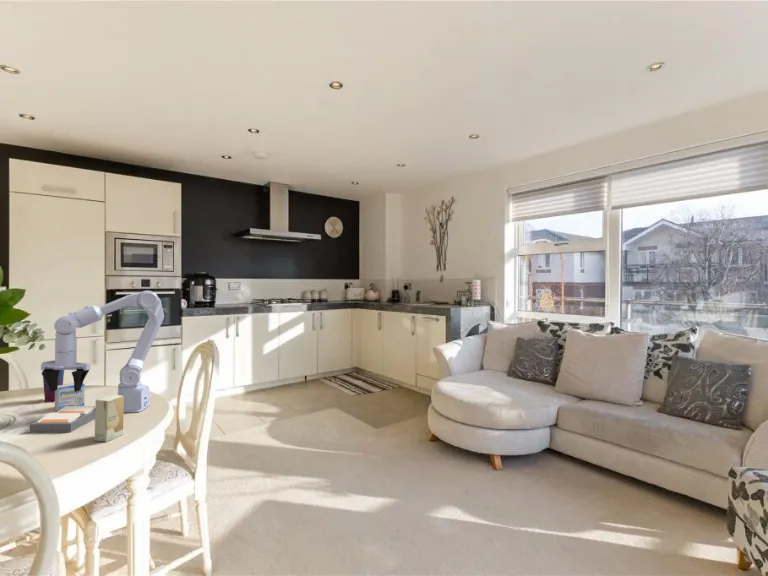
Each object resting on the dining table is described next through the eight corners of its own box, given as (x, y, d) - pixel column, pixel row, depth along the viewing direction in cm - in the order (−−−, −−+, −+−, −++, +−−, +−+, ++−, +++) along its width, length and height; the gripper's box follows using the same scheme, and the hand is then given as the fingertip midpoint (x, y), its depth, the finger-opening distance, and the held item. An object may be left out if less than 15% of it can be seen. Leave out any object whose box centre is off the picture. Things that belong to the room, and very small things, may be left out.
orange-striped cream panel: (95, 408, 135) (95, 405, 135) (85, 416, 130) (85, 413, 130) (65, 408, 134) (65, 405, 134) (55, 416, 129) (54, 413, 129)
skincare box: (106, 442, 115) (106, 401, 115) (93, 441, 116) (94, 400, 115) (124, 434, 121) (124, 395, 121) (112, 432, 122) (112, 394, 122)
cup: (58, 402, 149) (58, 363, 149) (37, 403, 147) (37, 364, 147) (68, 397, 156) (68, 359, 155) (48, 398, 154) (48, 360, 154)
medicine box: (57, 411, 139) (58, 387, 139) (54, 409, 142) (54, 385, 142) (84, 406, 145) (85, 383, 145) (80, 403, 148) (81, 381, 148)
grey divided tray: (101, 415, 137) (101, 408, 136) (70, 432, 122) (70, 423, 122) (64, 415, 135) (64, 408, 135) (29, 432, 121) (29, 424, 120)
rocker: (80, 415, 128) (79, 412, 127) (69, 424, 123) (69, 421, 123) (49, 415, 127) (48, 413, 126) (37, 425, 122) (36, 422, 122)
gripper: (33, 353, 128) (33, 394, 128) (80, 353, 129) (80, 394, 130) (50, 349, 135) (49, 388, 135) (94, 349, 136) (94, 388, 137)
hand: (65, 390), depth 133 cm, fingers open, 7 cm apart
